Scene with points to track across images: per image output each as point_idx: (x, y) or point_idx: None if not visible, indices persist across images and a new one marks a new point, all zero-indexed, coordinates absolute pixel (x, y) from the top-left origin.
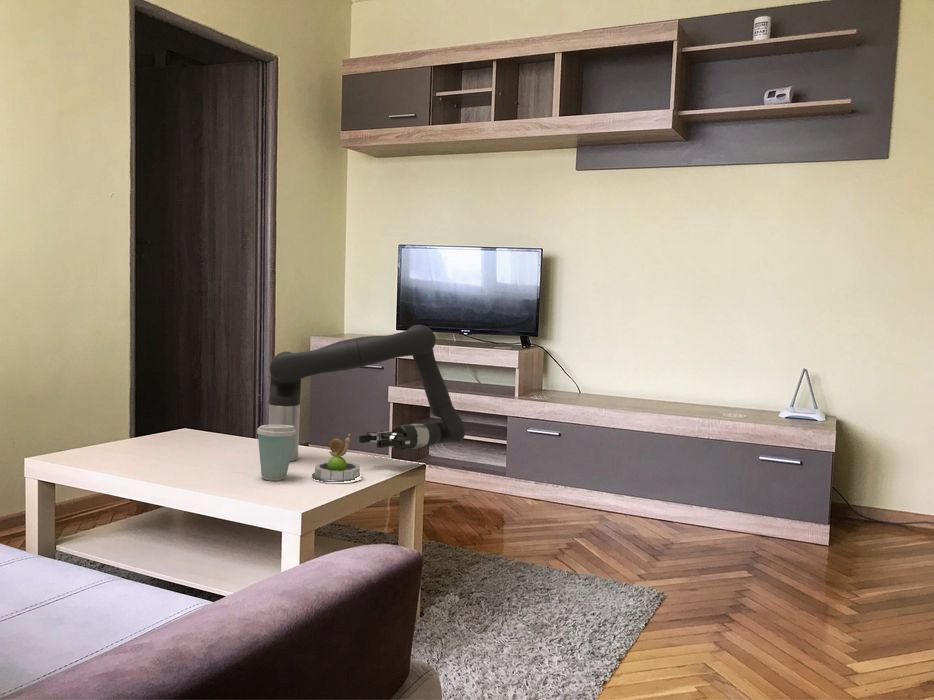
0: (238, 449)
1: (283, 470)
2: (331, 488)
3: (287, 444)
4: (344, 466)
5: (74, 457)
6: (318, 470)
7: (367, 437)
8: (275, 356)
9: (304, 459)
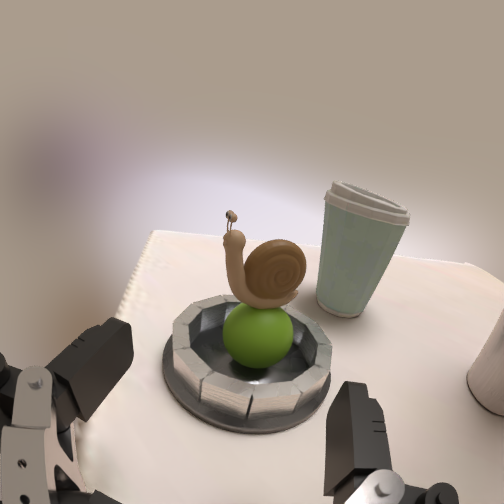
0: None
1: (319, 283)
2: (186, 298)
3: (326, 223)
4: (223, 329)
5: (485, 276)
6: None
7: (342, 448)
8: None
9: (493, 427)
